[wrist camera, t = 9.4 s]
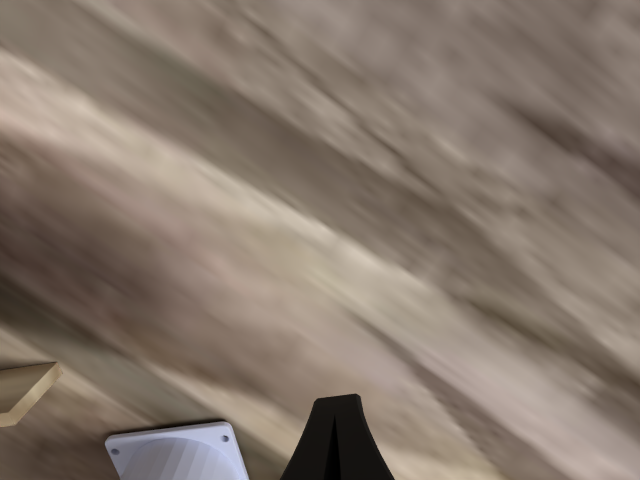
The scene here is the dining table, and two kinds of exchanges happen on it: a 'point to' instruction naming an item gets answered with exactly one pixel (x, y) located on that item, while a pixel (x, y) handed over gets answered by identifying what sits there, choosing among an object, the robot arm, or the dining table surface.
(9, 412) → the lane
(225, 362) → the dining table surface
